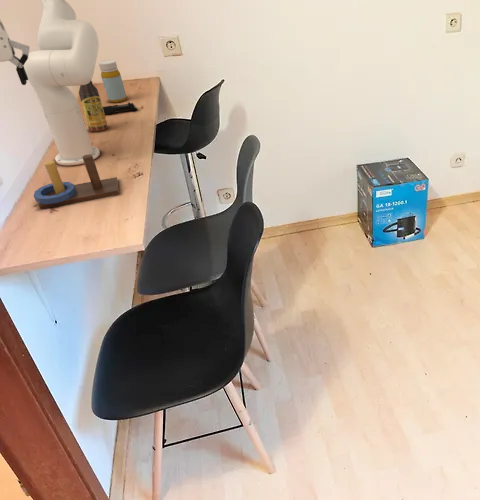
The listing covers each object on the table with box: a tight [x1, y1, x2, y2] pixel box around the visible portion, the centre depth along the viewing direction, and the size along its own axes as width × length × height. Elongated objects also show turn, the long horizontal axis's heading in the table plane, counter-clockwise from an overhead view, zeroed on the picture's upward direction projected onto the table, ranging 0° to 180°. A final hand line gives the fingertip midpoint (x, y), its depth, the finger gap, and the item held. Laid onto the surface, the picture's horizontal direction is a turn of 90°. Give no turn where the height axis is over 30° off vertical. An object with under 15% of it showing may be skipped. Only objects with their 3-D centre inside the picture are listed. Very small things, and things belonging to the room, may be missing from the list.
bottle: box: [98, 59, 128, 104], centre depth 201 cm, size 7×7×15 cm
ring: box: [33, 181, 76, 204], centre depth 134 cm, size 10×10×2 cm
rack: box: [38, 154, 120, 210], centre depth 134 cm, size 9×19×10 cm, turn 112°
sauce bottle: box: [78, 80, 108, 133], centre depth 173 cm, size 6×6×20 cm
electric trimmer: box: [102, 102, 138, 115], centre depth 192 cm, size 4×16×3 cm, turn 112°
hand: (2, 86), depth 124 cm, fingers open, 9 cm apart
